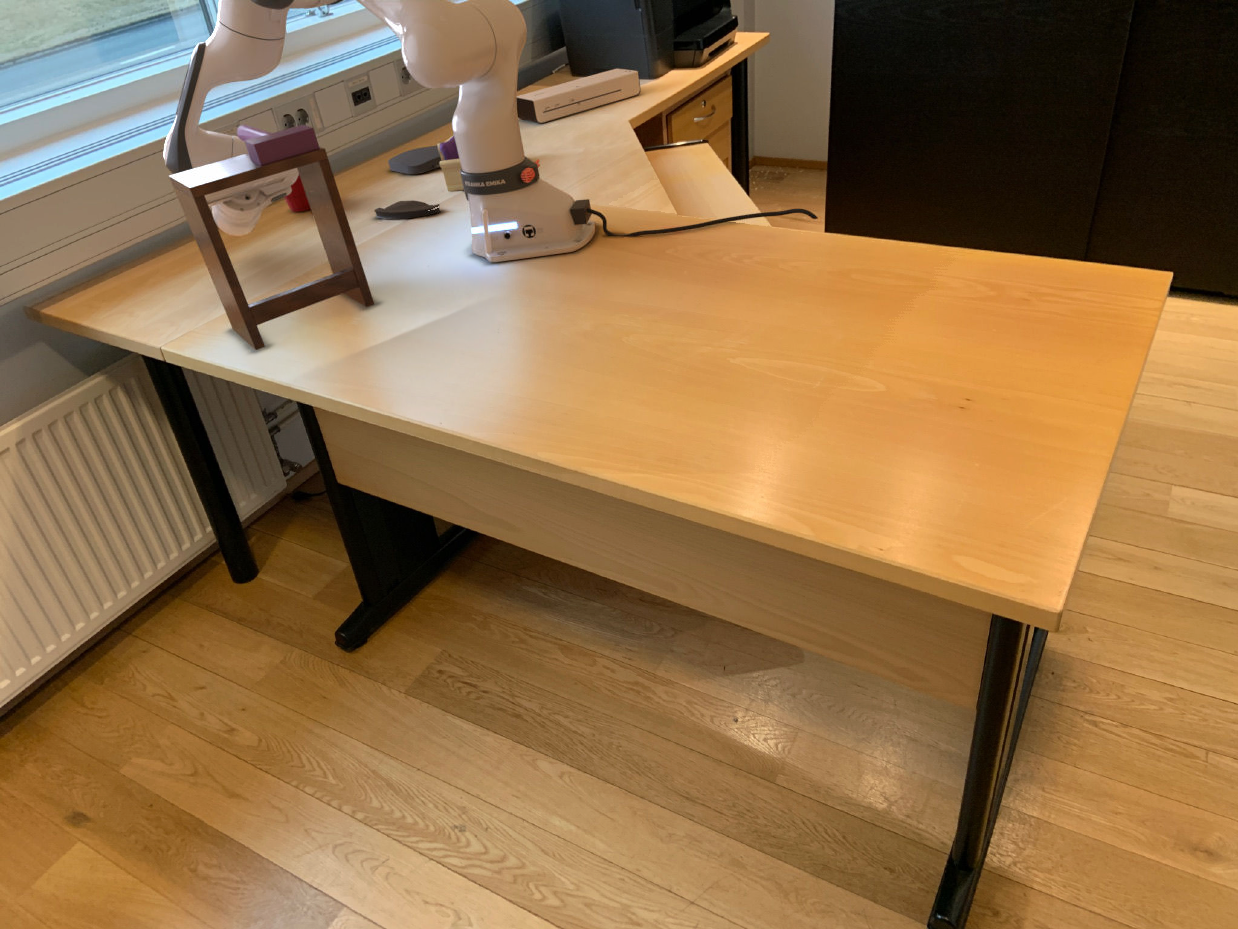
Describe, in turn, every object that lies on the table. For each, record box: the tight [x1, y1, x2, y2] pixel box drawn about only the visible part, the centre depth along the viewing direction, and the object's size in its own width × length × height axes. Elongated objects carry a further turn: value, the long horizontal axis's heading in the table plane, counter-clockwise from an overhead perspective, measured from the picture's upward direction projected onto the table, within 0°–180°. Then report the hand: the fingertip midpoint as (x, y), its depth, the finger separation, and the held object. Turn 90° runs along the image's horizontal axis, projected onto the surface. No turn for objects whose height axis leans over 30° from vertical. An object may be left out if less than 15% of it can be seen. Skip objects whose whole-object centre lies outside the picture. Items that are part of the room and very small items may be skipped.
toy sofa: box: [436, 134, 464, 192], centre depth 199 cm, size 21×9×10 cm, turn 169°
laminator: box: [517, 67, 641, 125], centre depth 246 cm, size 34×12×6 cm, turn 124°
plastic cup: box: [283, 175, 311, 213], centre depth 197 cm, size 11×11×12 cm
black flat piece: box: [373, 199, 441, 220], centre depth 184 cm, size 8×14×2 cm, turn 57°
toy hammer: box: [236, 124, 321, 166], centre depth 136 cm, size 20×9×3 cm, turn 37°
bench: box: [168, 146, 375, 351], centre depth 138 cm, size 20×12×25 cm, turn 127°
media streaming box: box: [387, 145, 442, 175], centre depth 217 cm, size 15×15×3 cm
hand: (245, 161), depth 151 cm, fingers open, 8 cm apart
